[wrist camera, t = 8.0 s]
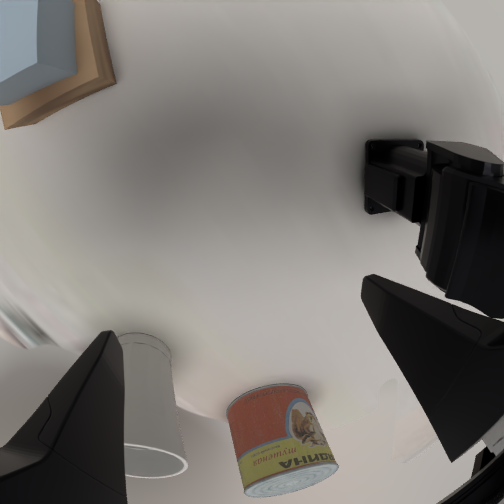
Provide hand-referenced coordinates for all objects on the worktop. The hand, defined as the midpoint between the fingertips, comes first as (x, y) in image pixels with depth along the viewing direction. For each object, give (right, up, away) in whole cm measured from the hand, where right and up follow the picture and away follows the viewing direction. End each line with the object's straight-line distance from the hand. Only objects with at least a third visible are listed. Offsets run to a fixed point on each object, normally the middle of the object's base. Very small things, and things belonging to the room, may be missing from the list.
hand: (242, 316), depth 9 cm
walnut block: (-13, +15, +4) cm, 21 cm away
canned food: (+2, -19, +26) cm, 32 cm away
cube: (-12, +13, 0) cm, 18 cm away
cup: (-11, -8, +17) cm, 22 cm away
